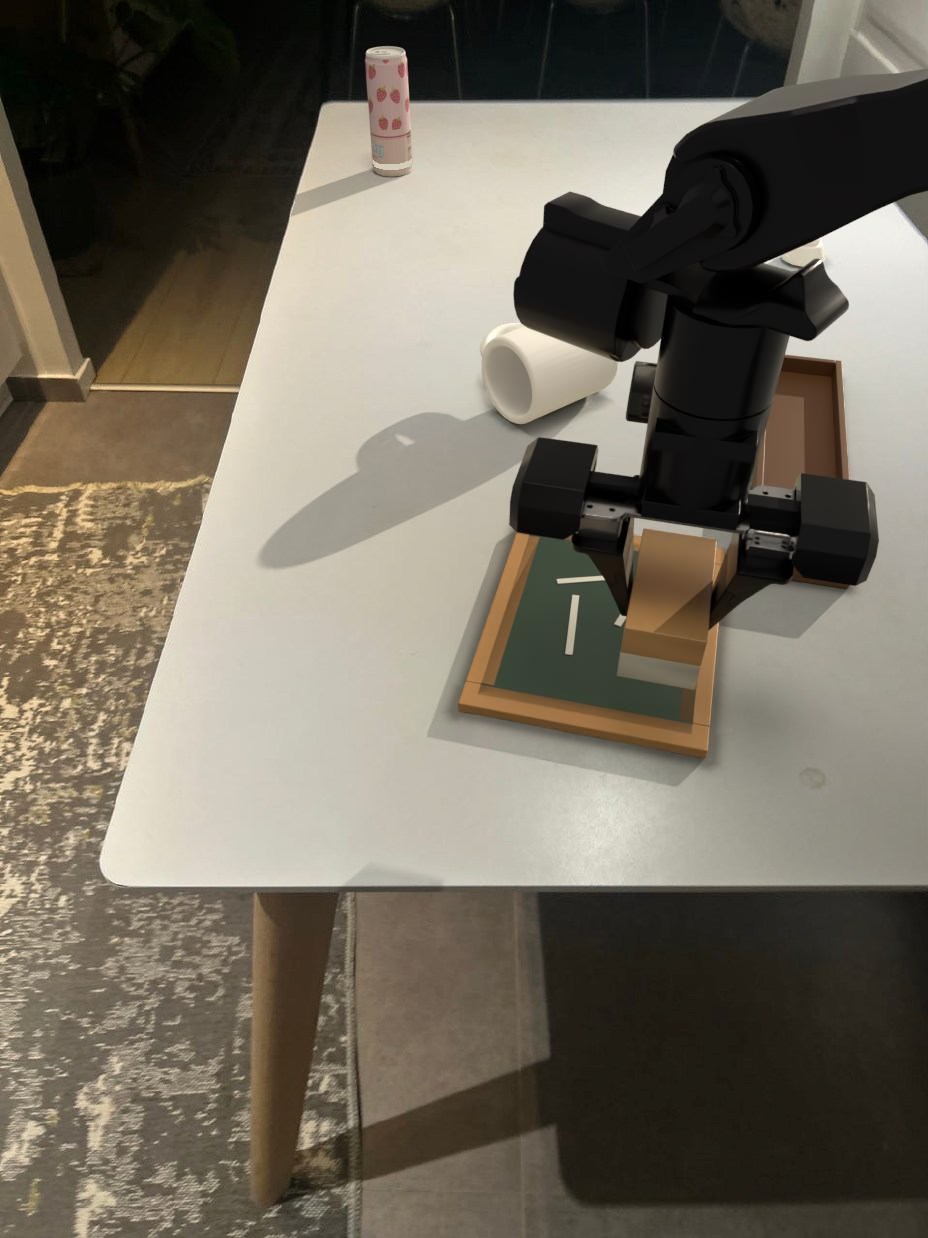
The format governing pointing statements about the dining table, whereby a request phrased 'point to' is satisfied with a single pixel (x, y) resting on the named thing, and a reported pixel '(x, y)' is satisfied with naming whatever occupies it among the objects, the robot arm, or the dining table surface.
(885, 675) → the dining table surface
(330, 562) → the dining table surface
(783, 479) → the chalk tray
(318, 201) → the dining table surface
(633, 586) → the eraser
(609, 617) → the chalkboard
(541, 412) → the mug
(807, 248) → the lidless jar
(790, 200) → the robot arm
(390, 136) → the beverage can
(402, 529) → the dining table surface
